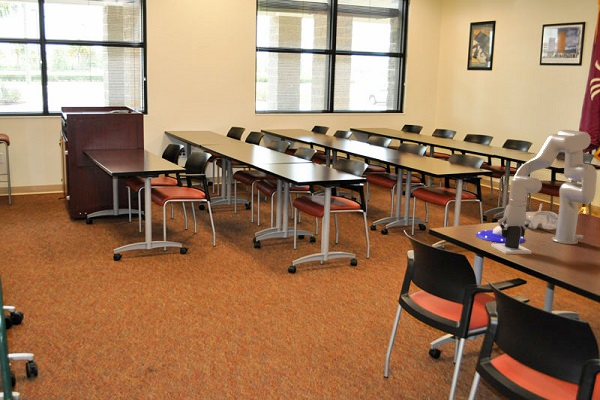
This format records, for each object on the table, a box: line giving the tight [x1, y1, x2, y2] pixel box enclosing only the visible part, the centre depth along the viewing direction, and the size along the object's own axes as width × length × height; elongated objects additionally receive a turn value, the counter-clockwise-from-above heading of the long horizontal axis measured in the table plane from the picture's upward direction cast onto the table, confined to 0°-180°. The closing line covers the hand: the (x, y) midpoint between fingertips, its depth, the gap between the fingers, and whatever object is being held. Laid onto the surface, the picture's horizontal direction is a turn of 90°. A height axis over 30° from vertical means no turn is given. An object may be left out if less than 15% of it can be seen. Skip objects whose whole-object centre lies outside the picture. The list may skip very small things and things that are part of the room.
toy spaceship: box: [475, 225, 526, 244], centre depth 344 cm, size 25×25×7 cm
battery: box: [505, 226, 522, 248], centre depth 320 cm, size 7×4×11 cm, turn 63°
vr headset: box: [525, 203, 558, 231], centre depth 370 cm, size 18×11×14 cm, turn 100°
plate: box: [490, 243, 532, 255], centre depth 321 cm, size 14×14×1 cm
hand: (512, 237), depth 320 cm, fingers open, 9 cm apart
